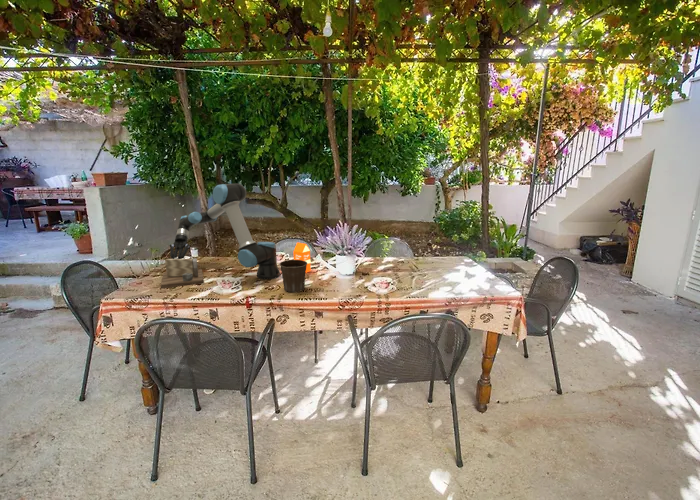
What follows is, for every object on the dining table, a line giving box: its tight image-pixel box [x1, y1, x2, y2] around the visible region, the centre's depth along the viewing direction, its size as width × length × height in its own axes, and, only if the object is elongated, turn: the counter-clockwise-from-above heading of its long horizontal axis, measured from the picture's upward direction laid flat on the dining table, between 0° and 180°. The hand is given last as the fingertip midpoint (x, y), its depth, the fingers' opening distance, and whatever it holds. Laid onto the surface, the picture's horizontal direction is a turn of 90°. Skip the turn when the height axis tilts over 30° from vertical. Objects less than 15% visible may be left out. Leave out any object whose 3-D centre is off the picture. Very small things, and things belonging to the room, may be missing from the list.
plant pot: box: [279, 259, 307, 293], centre depth 217 cm, size 16×16×16 cm
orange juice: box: [292, 242, 312, 273], centre depth 253 cm, size 8×9×20 cm
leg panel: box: [164, 258, 194, 276], centre depth 236 cm, size 17×2×11 cm, turn 90°
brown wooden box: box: [160, 257, 205, 289], centre depth 236 cm, size 28×24×14 cm
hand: (174, 267), depth 238 cm, fingers closed
